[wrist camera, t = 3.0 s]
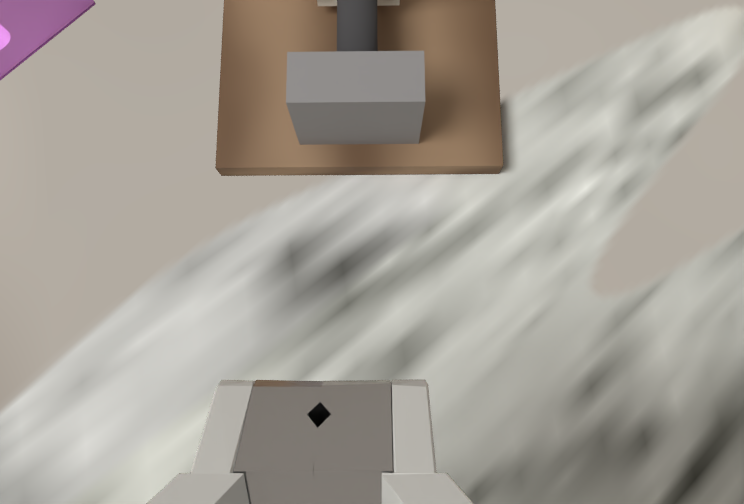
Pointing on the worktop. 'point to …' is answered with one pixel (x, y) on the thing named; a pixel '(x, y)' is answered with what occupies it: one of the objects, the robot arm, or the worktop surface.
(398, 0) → the sleeve
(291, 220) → the worktop surface
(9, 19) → the bracket
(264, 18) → the board
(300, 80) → the dark grey bar
